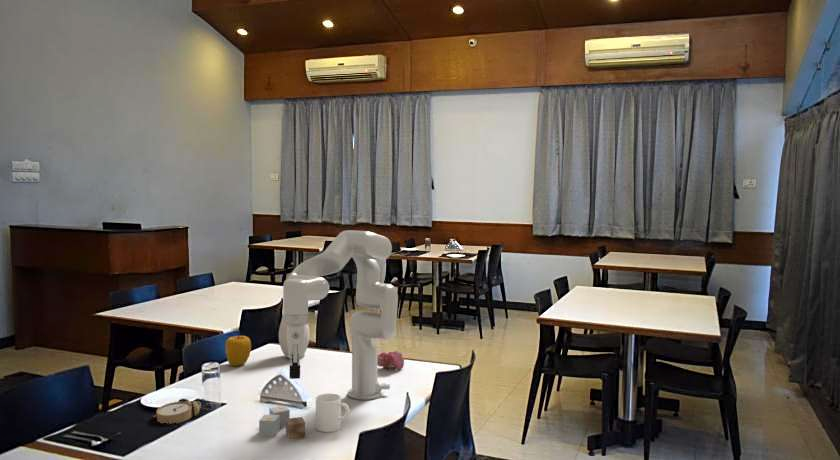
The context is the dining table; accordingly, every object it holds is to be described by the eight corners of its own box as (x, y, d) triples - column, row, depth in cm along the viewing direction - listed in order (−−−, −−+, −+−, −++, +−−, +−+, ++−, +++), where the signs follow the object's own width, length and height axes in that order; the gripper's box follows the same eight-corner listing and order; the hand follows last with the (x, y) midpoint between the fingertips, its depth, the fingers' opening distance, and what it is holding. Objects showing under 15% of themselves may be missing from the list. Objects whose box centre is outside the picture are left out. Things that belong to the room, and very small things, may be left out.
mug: (342, 436, 189) (342, 405, 188) (310, 429, 194) (310, 399, 193) (355, 427, 196) (356, 397, 195) (324, 420, 201) (324, 392, 200)
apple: (246, 368, 258) (246, 338, 257) (221, 368, 258) (221, 338, 257) (254, 361, 269) (254, 332, 268) (230, 361, 269) (229, 332, 268)
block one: (279, 430, 193) (279, 414, 193) (275, 436, 188) (275, 420, 188) (264, 429, 193) (264, 414, 193) (259, 436, 188) (259, 420, 188)
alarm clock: (148, 411, 200) (187, 391, 212) (151, 424, 201) (190, 404, 213) (168, 418, 194) (207, 398, 206) (170, 432, 195) (210, 411, 207)
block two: (284, 420, 201) (284, 405, 201) (289, 425, 197) (289, 409, 197) (269, 423, 199) (269, 407, 198) (274, 428, 195) (274, 412, 194)
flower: (381, 373, 264) (390, 353, 268) (399, 380, 258) (408, 358, 262) (368, 364, 256) (378, 342, 260) (386, 370, 250) (396, 348, 254)
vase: (273, 360, 271) (273, 294, 269) (285, 352, 284) (285, 289, 282) (303, 362, 268) (303, 295, 266) (313, 354, 282) (313, 290, 280)
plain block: (302, 432, 192) (302, 416, 191) (305, 438, 187) (305, 422, 187) (286, 434, 190) (286, 418, 189) (289, 440, 185) (289, 424, 185)
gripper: (308, 323, 179) (308, 384, 180) (306, 314, 194) (306, 370, 195) (282, 324, 178) (282, 385, 179) (283, 314, 192) (282, 371, 193)
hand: (294, 377), depth 187 cm, fingers closed
